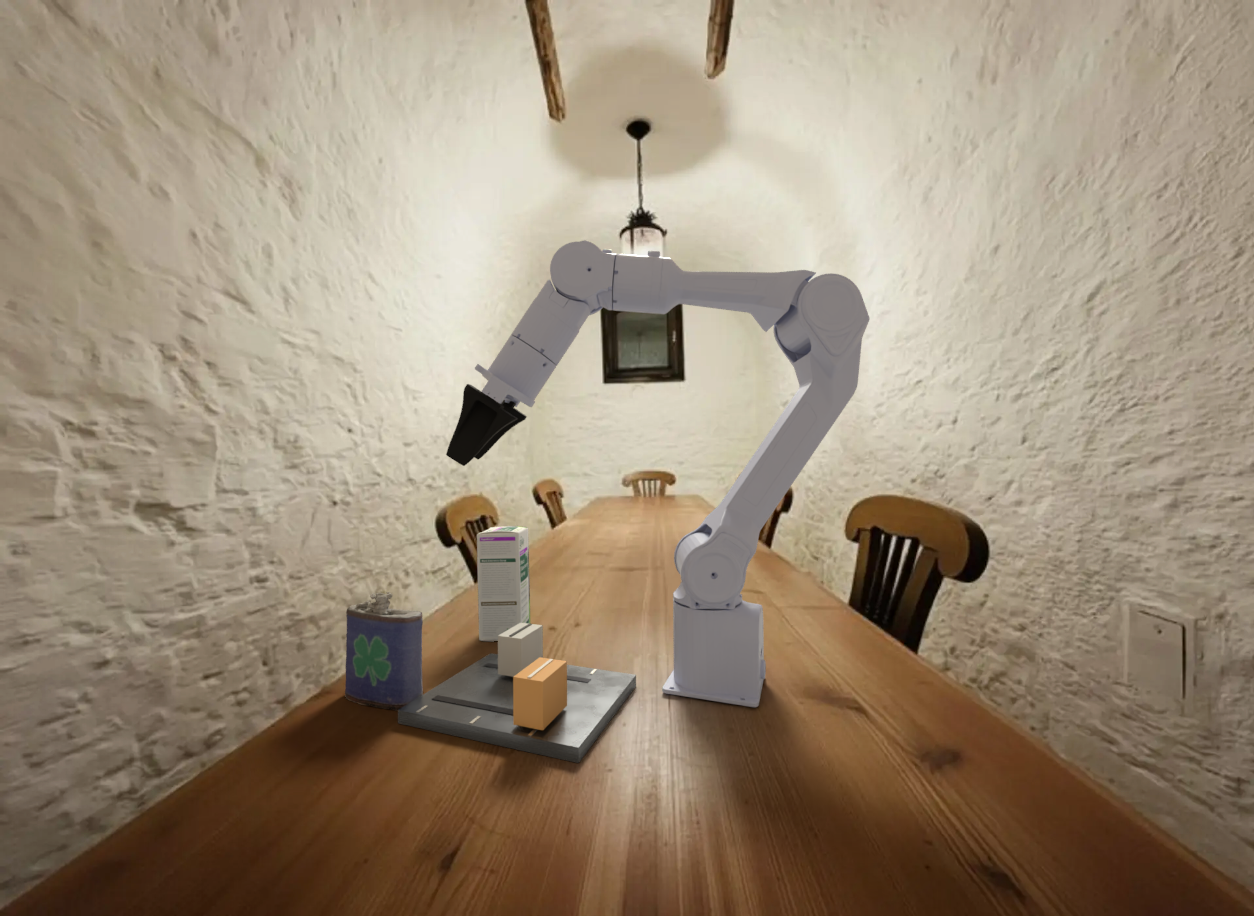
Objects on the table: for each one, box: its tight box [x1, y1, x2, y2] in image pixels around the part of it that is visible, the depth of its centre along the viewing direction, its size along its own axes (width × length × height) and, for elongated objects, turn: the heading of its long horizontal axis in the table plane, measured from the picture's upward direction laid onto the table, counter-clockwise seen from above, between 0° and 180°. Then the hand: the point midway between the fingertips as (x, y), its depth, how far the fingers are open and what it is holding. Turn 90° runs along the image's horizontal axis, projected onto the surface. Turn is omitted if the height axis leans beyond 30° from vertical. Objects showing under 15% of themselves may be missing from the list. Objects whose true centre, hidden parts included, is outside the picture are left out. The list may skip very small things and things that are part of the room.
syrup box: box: [476, 525, 532, 642], centre depth 68 cm, size 6×6×14 cm
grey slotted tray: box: [397, 653, 637, 764], centre depth 48 cm, size 18×14×1 cm
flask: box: [344, 591, 424, 712], centre depth 49 cm, size 9×3×11 cm, turn 68°
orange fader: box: [513, 657, 568, 730], centre depth 43 cm, size 3×4×4 cm, turn 160°
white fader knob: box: [497, 622, 544, 677], centre depth 53 cm, size 3×4×4 cm, turn 160°
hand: (463, 457), depth 53 cm, fingers open, 7 cm apart
